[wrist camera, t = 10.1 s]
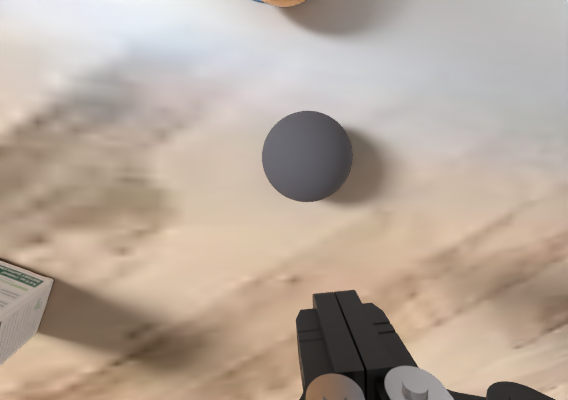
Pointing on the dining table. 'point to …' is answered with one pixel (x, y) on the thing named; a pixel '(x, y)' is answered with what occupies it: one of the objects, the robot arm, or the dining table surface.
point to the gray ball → (307, 156)
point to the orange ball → (283, 2)
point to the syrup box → (20, 306)
